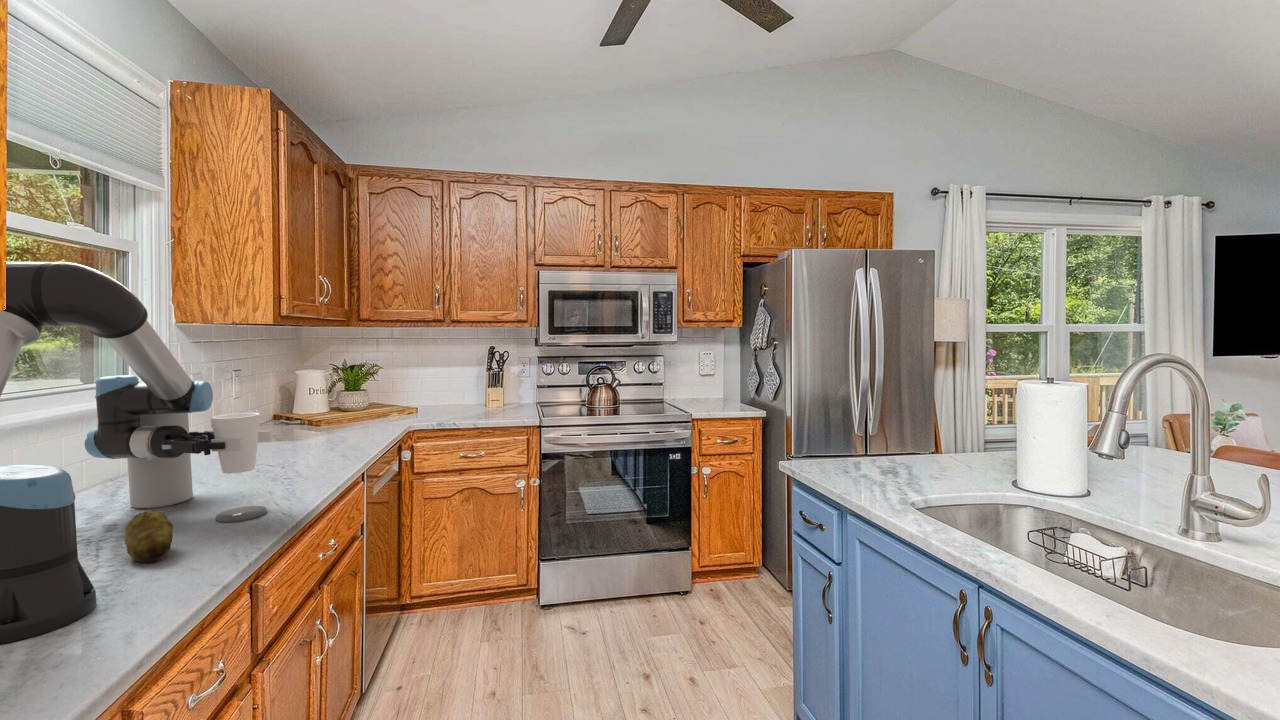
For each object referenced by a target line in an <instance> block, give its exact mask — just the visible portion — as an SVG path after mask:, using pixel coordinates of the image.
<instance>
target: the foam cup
mask: <svg viewBox="0 0 1280 720" xmlns="http://www.w3.org/2000/svg"><path fill="white" fill-rule="evenodd" d="M210 424H211V425H210V426H211V427H210V428H212V431H213V432H214V437H215V439H242V447H243V450H242V451H217V454H218V459H219V463H220V467H221V471H222V473H223V474H227V475H228V474H241V473H245V472H251V471H253V470H255V469H256V461H257V452H258V443H259V442H258V433H259V431H260V424H261V413H259V412H234V413H232V412H231V413H224V414H217V415H214V416H211V417H210Z"/></svg>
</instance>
